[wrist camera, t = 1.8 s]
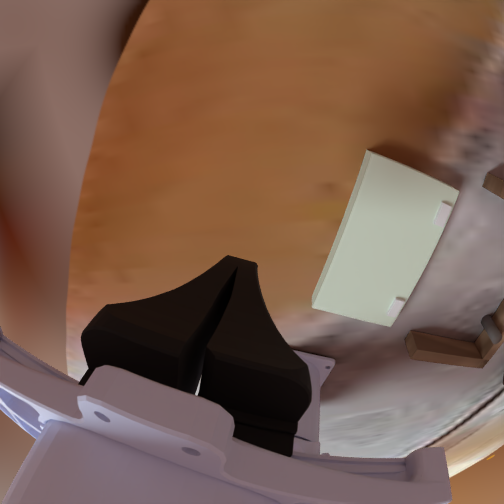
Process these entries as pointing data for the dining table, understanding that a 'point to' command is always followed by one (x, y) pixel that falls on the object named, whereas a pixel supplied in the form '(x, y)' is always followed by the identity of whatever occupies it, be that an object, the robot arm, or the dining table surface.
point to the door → (383, 240)
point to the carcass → (459, 351)
